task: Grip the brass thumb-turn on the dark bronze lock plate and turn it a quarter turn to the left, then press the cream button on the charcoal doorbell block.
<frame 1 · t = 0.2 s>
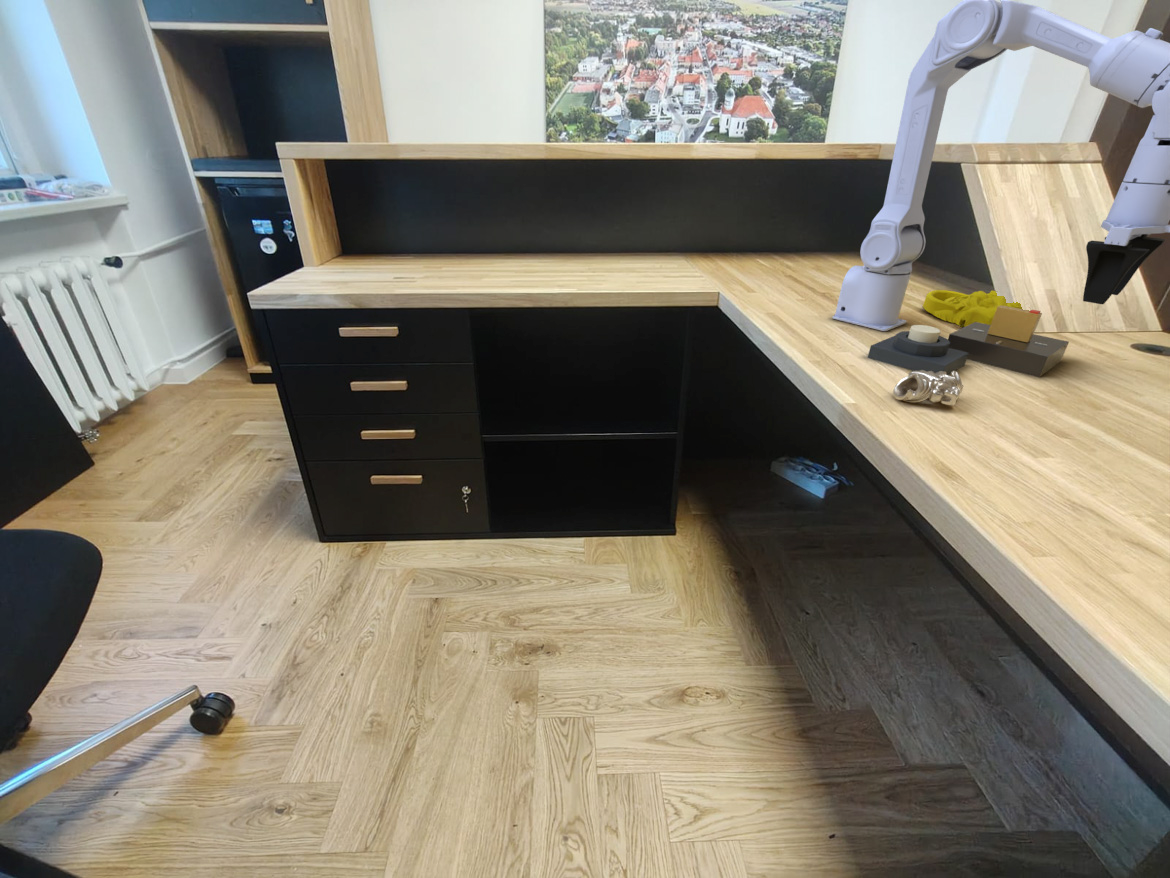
hand: (1100, 297, 72), 10 cm above the table, tool pointing down, fingers open, 7 cm apart
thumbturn: (1014, 322, 78), point 5 cm above the table, hinge at 0.0°
bell button: (923, 334, 77), point 4 cm above the table, slide at 0.1 cm
ornament: (927, 403, 67), on the table
doorbell: (915, 361, 79), on the table
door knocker: (971, 316, 100), on the table
lock plate: (1000, 357, 81), on the table
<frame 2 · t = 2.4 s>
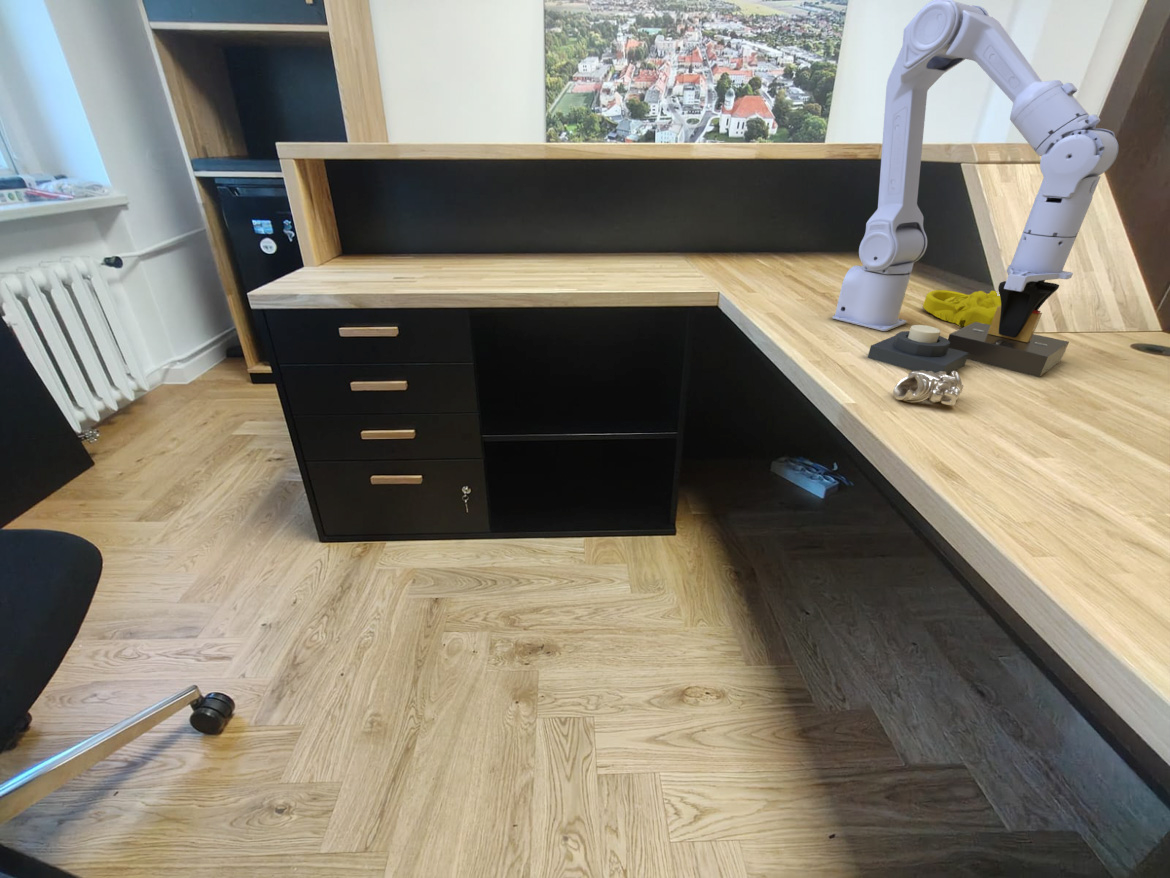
hand: (1009, 334, 79), 4 cm above the table, tool pointing down, fingers closed on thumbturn
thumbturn: (1014, 322, 78), point 5 cm above the table, hinge at 0.0°, touching gripper
everything else where it was.
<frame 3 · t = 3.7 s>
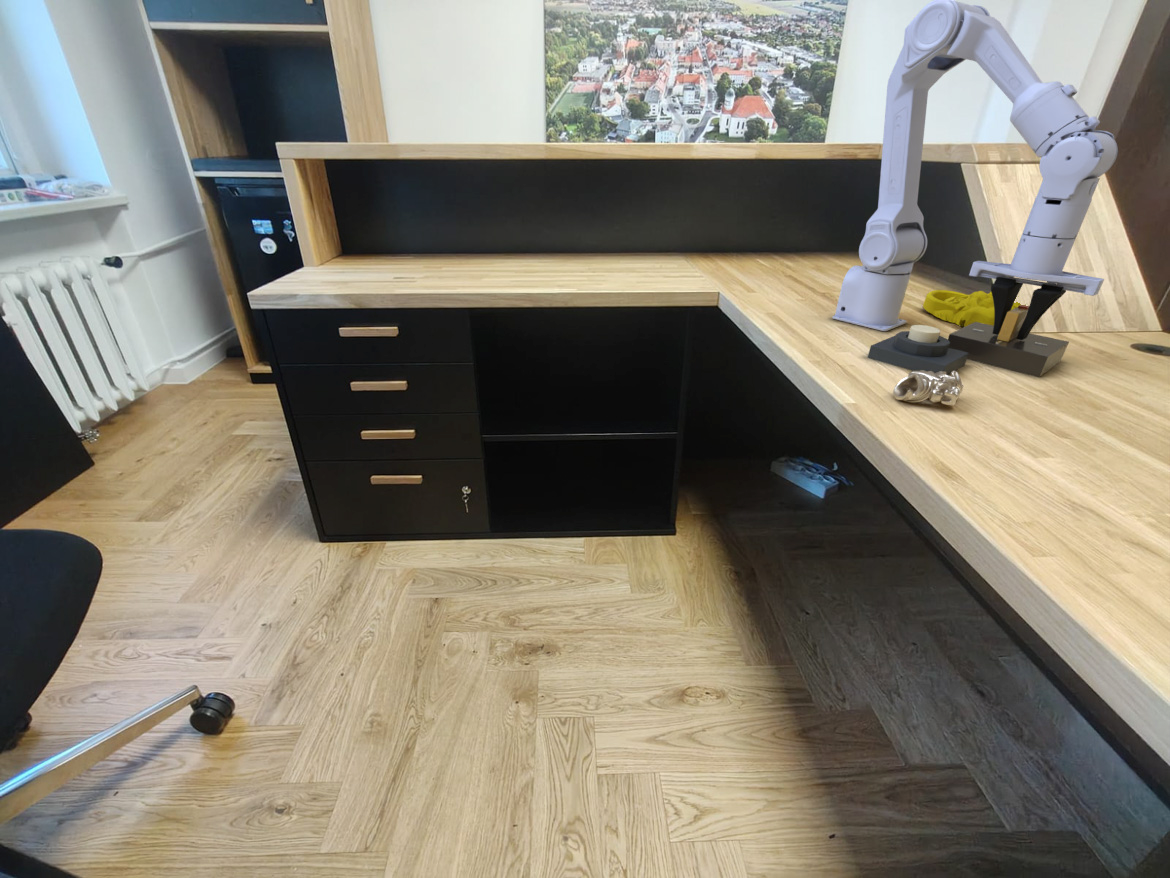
hand: (1009, 335, 79), 3 cm above the table, tool pointing down, fingers closed
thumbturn: (1014, 322, 78), point 5 cm above the table, hinge at 89.3°
everything else where it was.
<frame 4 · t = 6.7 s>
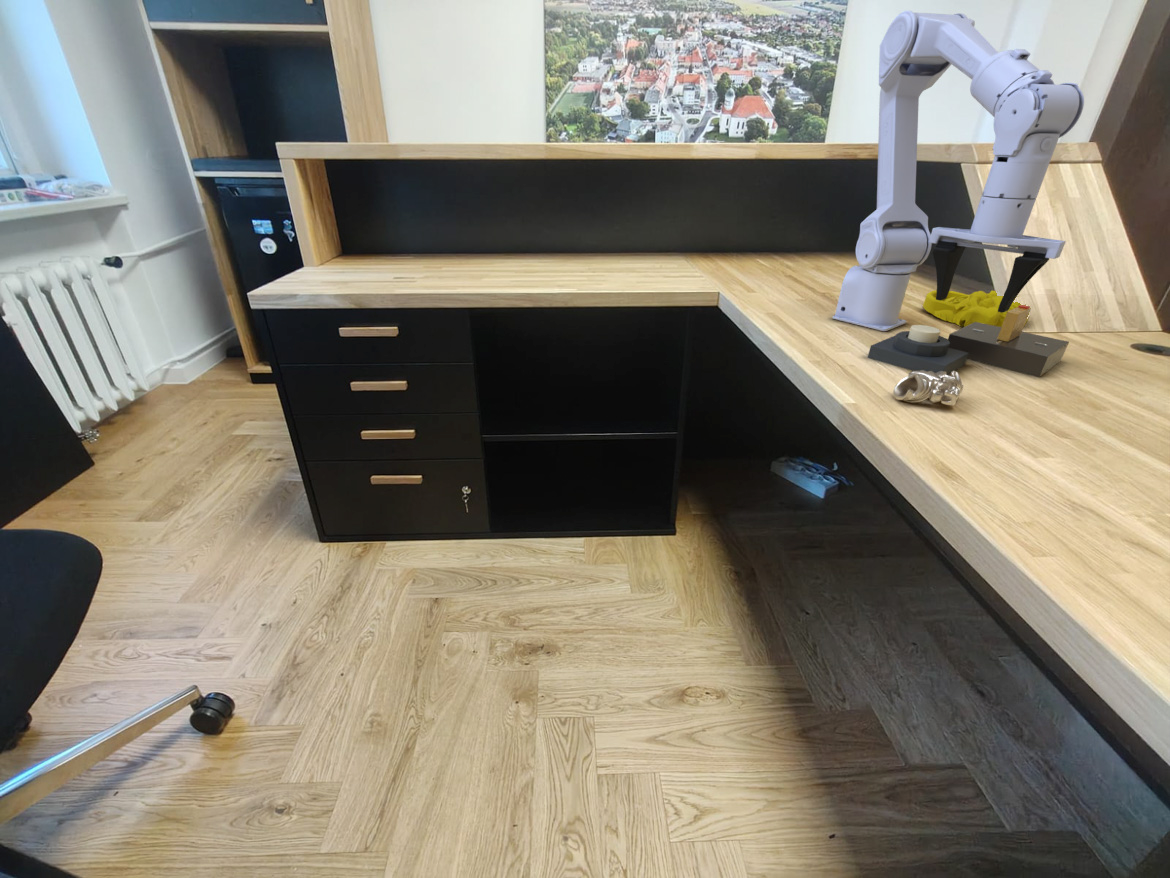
hand: (970, 304, 76), 8 cm above the table, tool pointing down, fingers open, 7 cm apart
nothing on the table moved.
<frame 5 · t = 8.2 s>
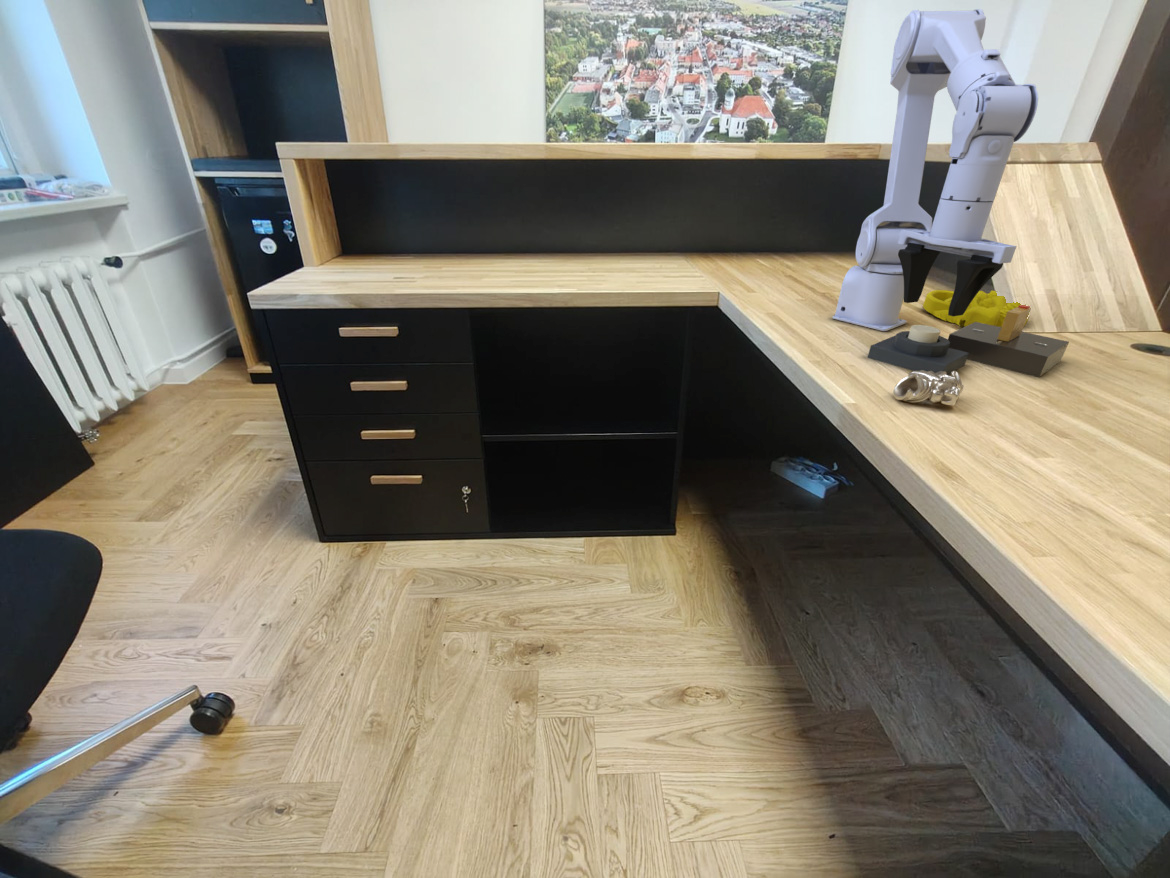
hand: (932, 308, 75), 8 cm above the table, tool pointing down, fingers open, 6 cm apart
nothing on the table moved.
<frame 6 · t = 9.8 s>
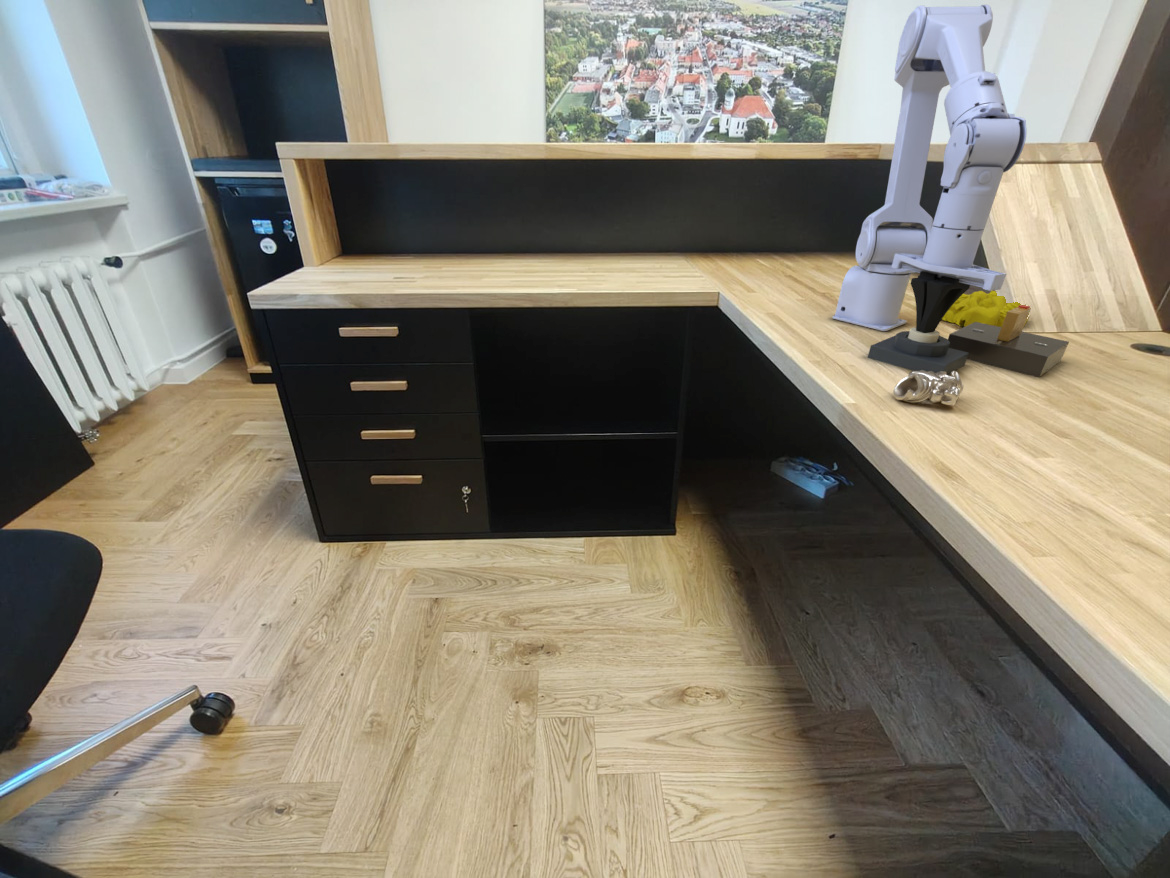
hand: (924, 331, 77), 4 cm above the table, tool pointing down, fingers closed, pressing on bell button
bell button: (923, 337, 77), point 4 cm above the table, slide at -0.2 cm, touching gripper
everything else where it was.
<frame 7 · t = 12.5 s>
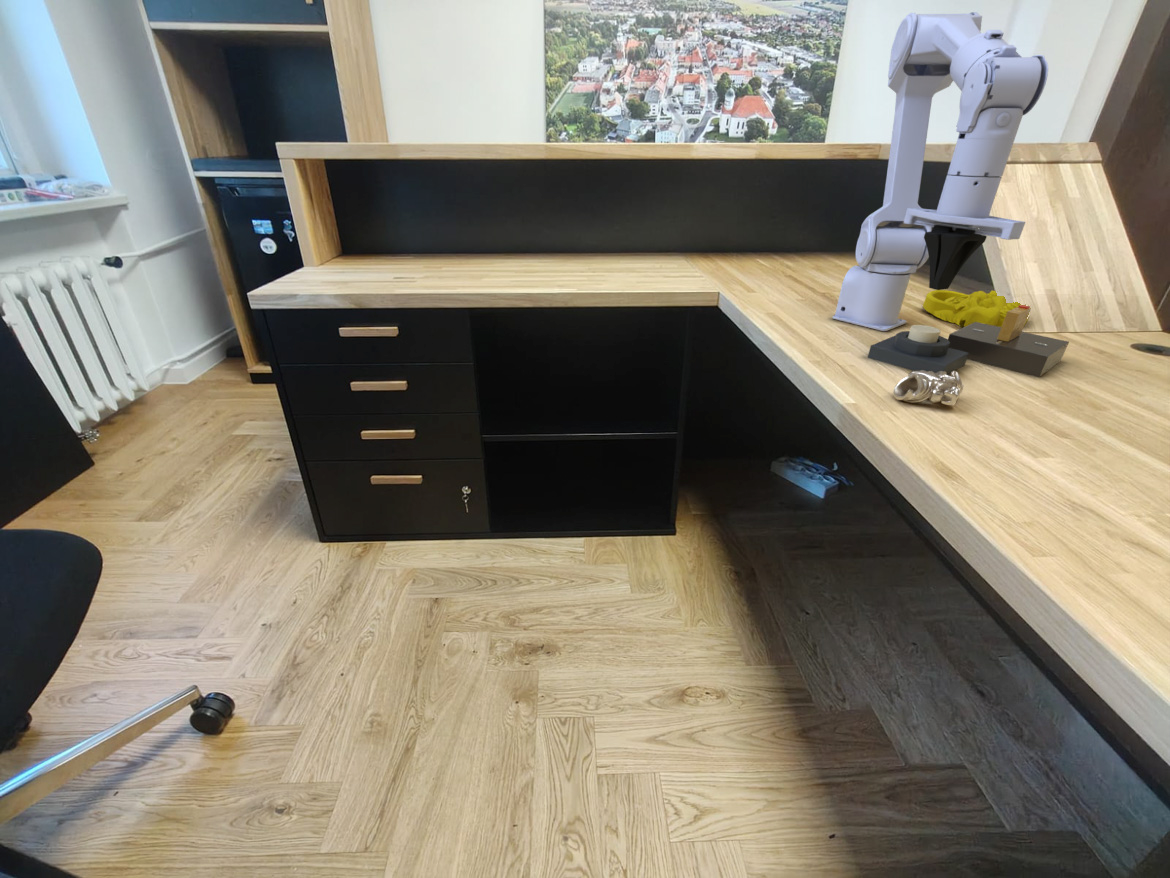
hand: (938, 288, 74), 10 cm above the table, tool pointing down, fingers closed
bell button: (923, 334, 77), point 4 cm above the table, slide at 0.1 cm
everything else where it was.
at the end: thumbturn at +89° (first picture: +0°); bell button pushed in 1.0 cm at the most during the clip, back to where it started at the end; bell button slide at 0.1 cm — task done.
